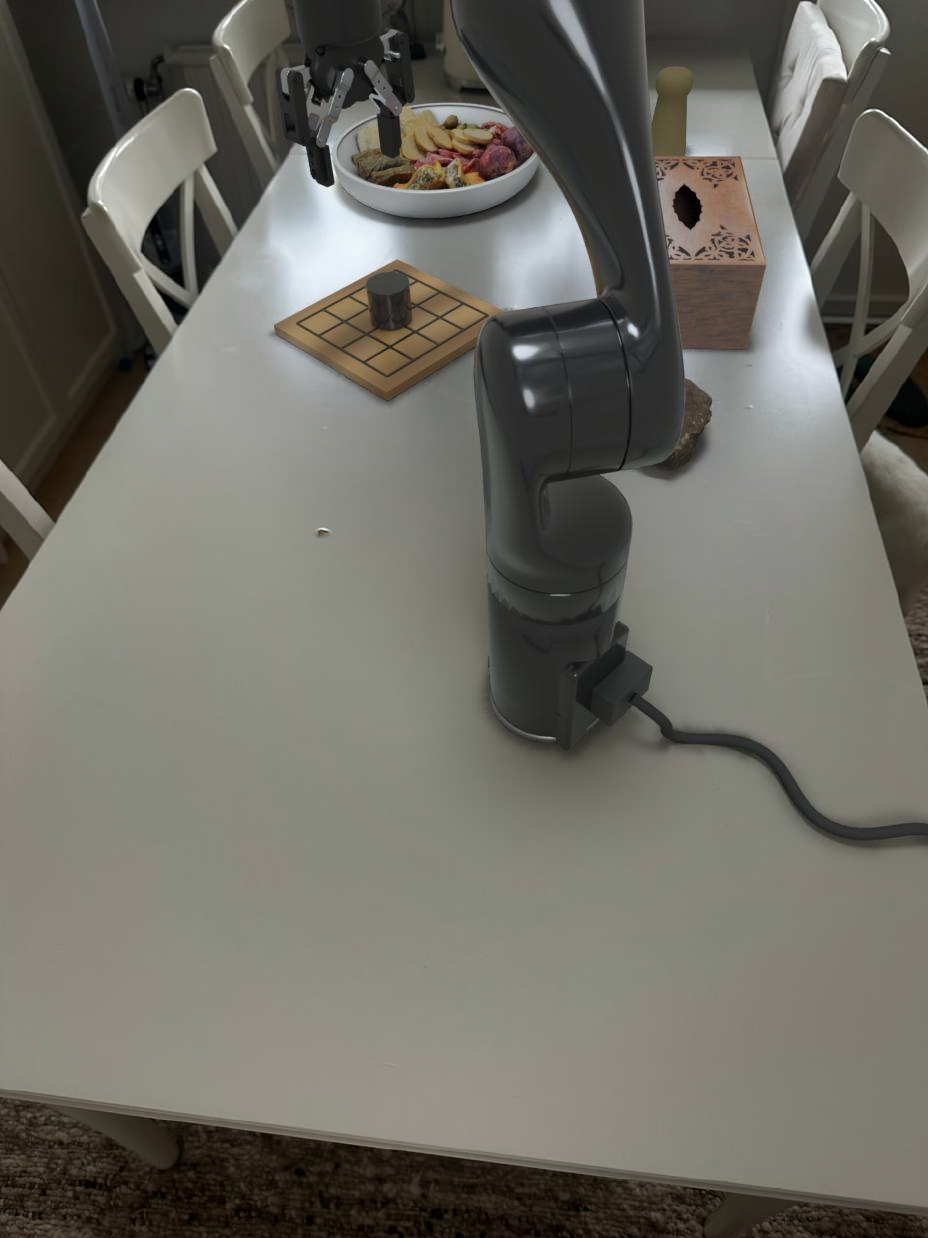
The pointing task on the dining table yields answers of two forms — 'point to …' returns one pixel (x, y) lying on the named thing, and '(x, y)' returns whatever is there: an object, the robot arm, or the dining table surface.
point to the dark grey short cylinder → (389, 300)
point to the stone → (690, 425)
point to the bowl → (436, 161)
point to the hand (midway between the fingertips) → (358, 169)
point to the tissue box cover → (711, 248)
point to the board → (389, 332)
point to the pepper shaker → (671, 111)
